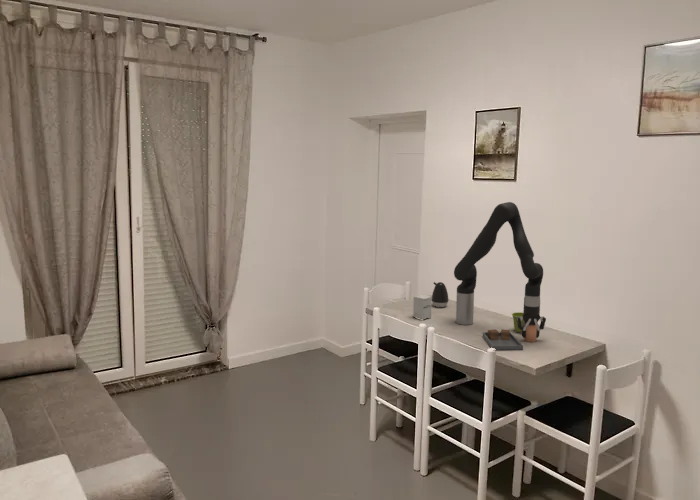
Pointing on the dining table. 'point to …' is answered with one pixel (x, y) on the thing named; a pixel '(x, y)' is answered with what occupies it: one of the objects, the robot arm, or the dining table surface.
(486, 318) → the dining table surface
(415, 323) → the dining table surface
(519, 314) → the plant pot
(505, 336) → the walnut block
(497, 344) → the tray
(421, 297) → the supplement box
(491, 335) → the walnut block
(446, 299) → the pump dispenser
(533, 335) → the cylinder block
